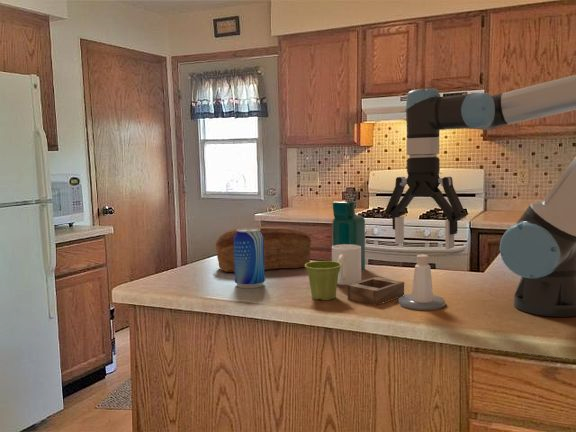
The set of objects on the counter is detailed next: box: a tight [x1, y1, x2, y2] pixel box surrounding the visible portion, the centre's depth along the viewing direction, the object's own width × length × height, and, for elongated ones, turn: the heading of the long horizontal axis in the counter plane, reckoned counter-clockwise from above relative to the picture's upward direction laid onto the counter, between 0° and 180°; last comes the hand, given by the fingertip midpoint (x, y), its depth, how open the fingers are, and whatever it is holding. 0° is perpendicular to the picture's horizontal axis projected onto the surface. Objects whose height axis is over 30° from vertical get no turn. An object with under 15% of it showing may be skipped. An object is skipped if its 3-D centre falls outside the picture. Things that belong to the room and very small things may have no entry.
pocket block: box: [347, 276, 405, 306], centre depth 140 cm, size 9×12×4 cm
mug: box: [331, 244, 362, 286], centre depth 155 cm, size 12×8×10 cm
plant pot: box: [304, 260, 342, 301], centre depth 141 cm, size 9×9×9 cm
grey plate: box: [398, 293, 446, 311], centre depth 133 cm, size 11×11×1 cm
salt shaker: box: [411, 254, 434, 303], centre depth 133 cm, size 5×5×11 cm
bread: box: [215, 225, 312, 273], centre depth 178 cm, size 12×31×14 cm, turn 103°
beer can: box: [234, 227, 266, 289], centre depth 154 cm, size 8×8×16 cm
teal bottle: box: [332, 200, 366, 272], centre depth 171 cm, size 10×8×22 cm
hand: (423, 245), depth 131 cm, fingers open, 13 cm apart
